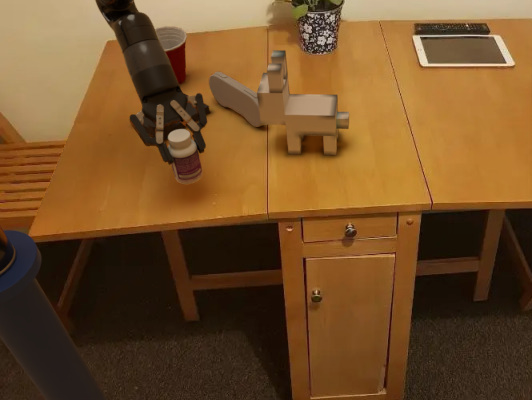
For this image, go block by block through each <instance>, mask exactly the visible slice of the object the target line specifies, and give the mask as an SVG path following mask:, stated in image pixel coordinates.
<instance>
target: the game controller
mask: <svg viewBox="0 0 532 400" xmlns="http://www.w3.org/2000/svg"><path fill="white" fill-rule="evenodd" d="M208 86H209V89H210V92H211V94H212V96H213V98H214V99H215V100H216V102H217V103H218V104H219V105H220V106H222V107H223V108H230V109H231V110H232V111H234V112H236V113H238V114H239V115H241V116H242V117H244V119H245V120H246V121H247V122H248V123H249V124H250V125H251V126H253V127H255V128H259V127H262V126H263V125H261V119H260V112H259V104H258V97H257V91H254V90H253V89H251V88H249V87H248V86H246V85H245V84H243V83H242V82H240V81H238V80H236V79H234V78H233V77H231V76H229V75H228V74H226V73H224V72H221V71H215V72H214V73H213V74H211V75H210V76H209V78H208Z"/></svg>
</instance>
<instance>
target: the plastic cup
mask: <svg viewBox="0 0 532 400" xmlns="http://www.w3.org/2000/svg"><path fill="white" fill-rule="evenodd" d="M155 30H156V33H157V35H158V38H159V40H160V43H161V45H162V47H163V48H164V50H165V52H166V54H167V56H168V58H169V59H170V62H171V66H172V68H173V71H174V73H175V76H176V78H177V81H178V83H179V85H180V86H181V85H182V84H183V83H185V81H187V79H186V78H187V60H186V59H187V58H186V45H187V44H186V42H187V39H188V34H187V31H185V30H184V29H183V28H181V27H178V26H173V25H171V26H170V25H165V26H159V27H155Z"/></svg>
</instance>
